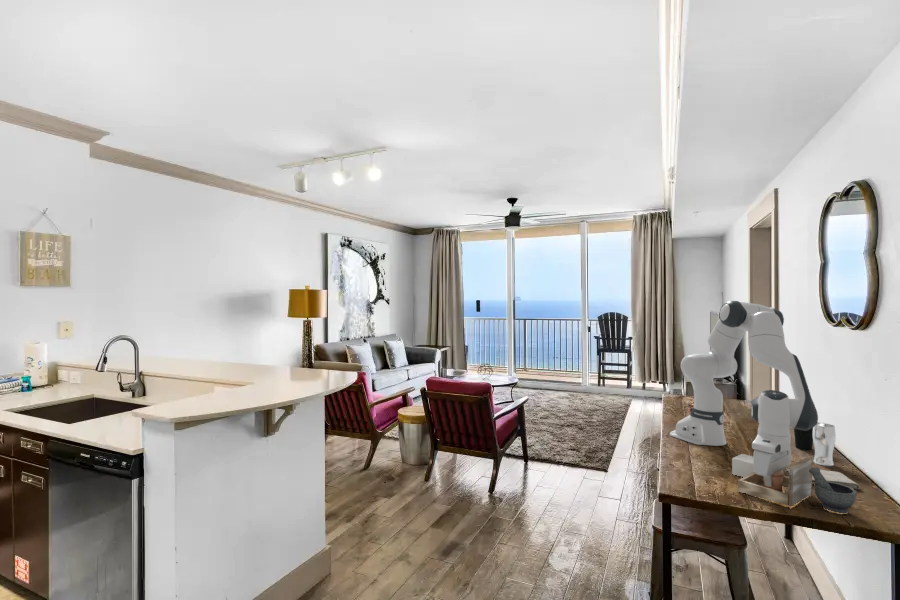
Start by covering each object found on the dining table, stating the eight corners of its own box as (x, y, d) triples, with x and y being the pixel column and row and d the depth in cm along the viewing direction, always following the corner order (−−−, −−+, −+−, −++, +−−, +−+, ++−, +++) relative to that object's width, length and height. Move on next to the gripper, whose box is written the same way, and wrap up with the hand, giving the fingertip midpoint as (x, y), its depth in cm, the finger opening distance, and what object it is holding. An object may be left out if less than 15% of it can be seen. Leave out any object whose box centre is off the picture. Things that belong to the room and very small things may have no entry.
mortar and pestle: (852, 508, 141) (853, 469, 141) (859, 521, 133) (860, 479, 133) (806, 499, 147) (807, 462, 147) (810, 511, 139) (811, 471, 139)
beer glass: (826, 467, 174) (826, 427, 174) (807, 461, 181) (808, 423, 181) (839, 465, 176) (840, 426, 176) (820, 459, 183) (821, 421, 183)
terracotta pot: (759, 490, 152) (759, 469, 152) (766, 486, 155) (767, 465, 155) (779, 496, 147) (779, 474, 147) (786, 492, 151) (786, 471, 151)
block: (732, 474, 167) (732, 458, 167) (742, 469, 172) (742, 453, 172) (756, 481, 160) (757, 464, 160) (766, 476, 165) (766, 460, 165)
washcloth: (783, 472, 171) (783, 464, 171) (842, 478, 166) (842, 469, 165) (797, 485, 159) (797, 476, 159) (860, 491, 154) (860, 482, 154)
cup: (819, 452, 192) (819, 423, 192) (798, 450, 193) (798, 422, 193) (808, 446, 199) (809, 418, 199) (788, 444, 201) (789, 417, 201)
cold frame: (737, 492, 152) (738, 453, 152) (759, 480, 162) (760, 443, 162) (791, 509, 140) (792, 467, 140) (811, 495, 150) (812, 456, 150)
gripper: (775, 433, 160) (774, 473, 160) (749, 444, 148) (748, 487, 148) (797, 438, 155) (796, 479, 155) (772, 449, 143) (771, 494, 143)
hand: (773, 483), depth 151 cm, fingers closed on terracotta pot, 5 cm apart
